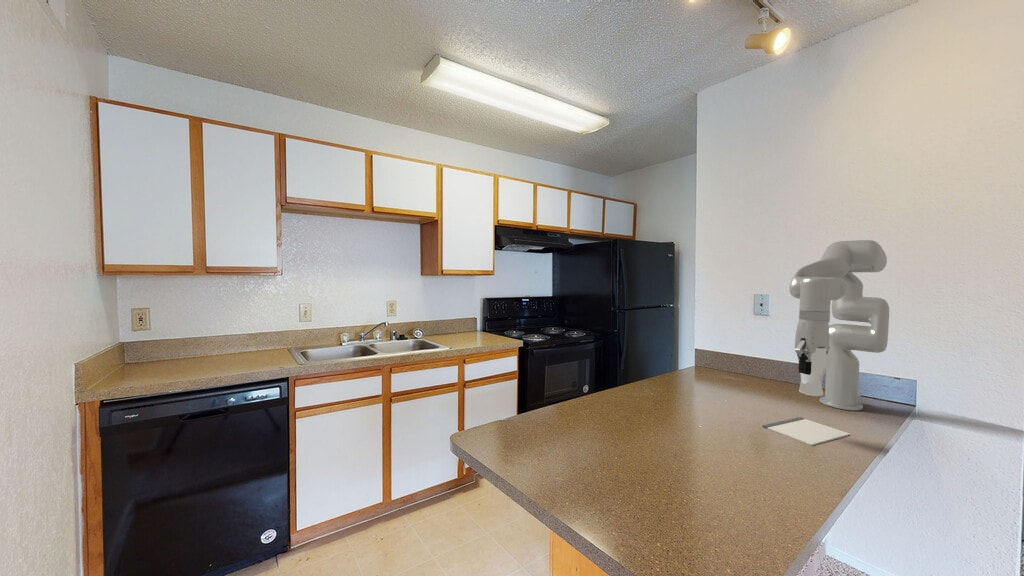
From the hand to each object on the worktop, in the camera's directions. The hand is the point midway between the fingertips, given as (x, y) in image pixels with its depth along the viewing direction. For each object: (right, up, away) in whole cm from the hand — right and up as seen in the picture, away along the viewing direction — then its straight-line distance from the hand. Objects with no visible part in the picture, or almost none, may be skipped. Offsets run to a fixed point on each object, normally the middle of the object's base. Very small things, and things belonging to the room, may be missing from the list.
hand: (811, 372), depth 117 cm
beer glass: (0, -7, 0) cm, 7 cm away
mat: (-1, -19, +2) cm, 19 cm away
